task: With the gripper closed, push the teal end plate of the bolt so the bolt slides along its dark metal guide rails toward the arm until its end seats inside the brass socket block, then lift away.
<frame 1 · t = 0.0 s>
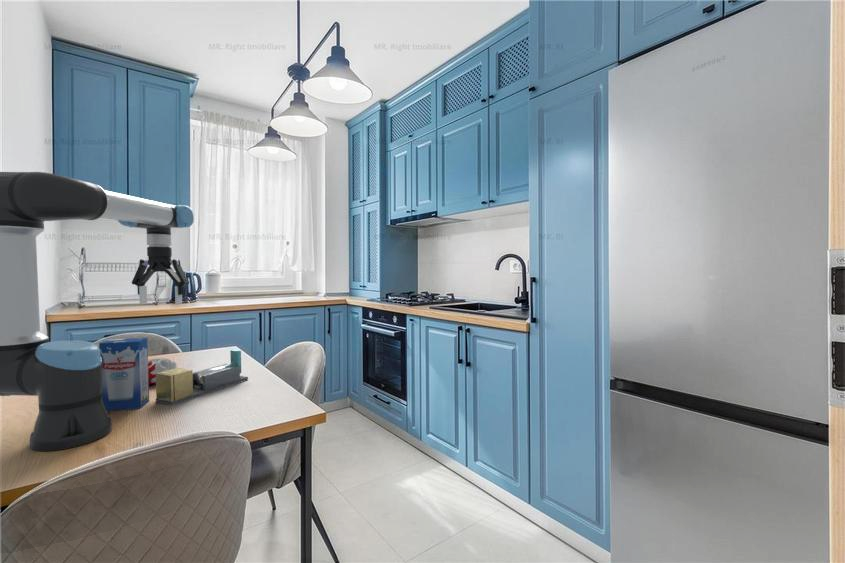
hand: (161, 303, 145), 28 cm above the table, fingers open, 13 cm apart
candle: (149, 384, 139), on the table
mat: (208, 388, 134), on the table
bolt: (219, 366, 138), point 7 cm above the table, slide at 0.0 cm
milk carton: (126, 406, 118), on the table
guide: (201, 376, 131), on the mat, point 5 cm above the table
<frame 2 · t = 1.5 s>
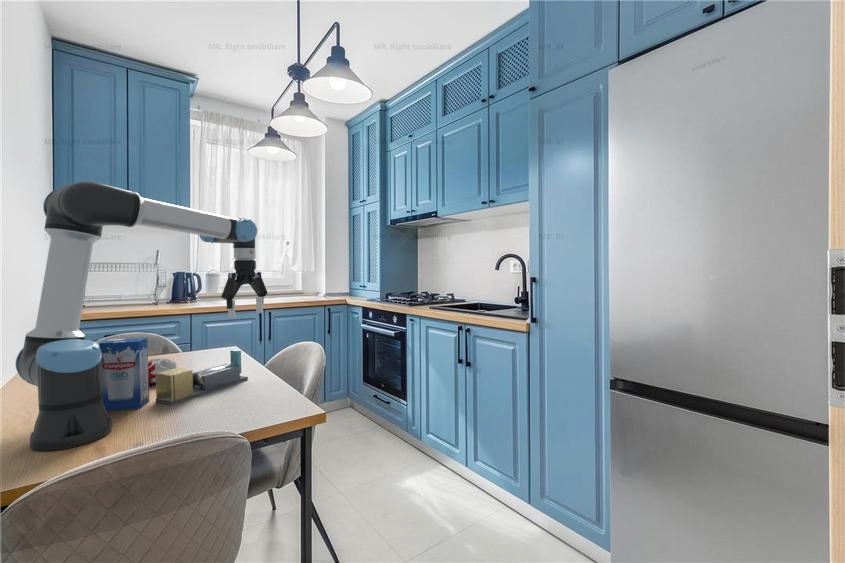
hand: (246, 315, 150), 23 cm above the table, fingers open, 13 cm apart
nothing on the table moved.
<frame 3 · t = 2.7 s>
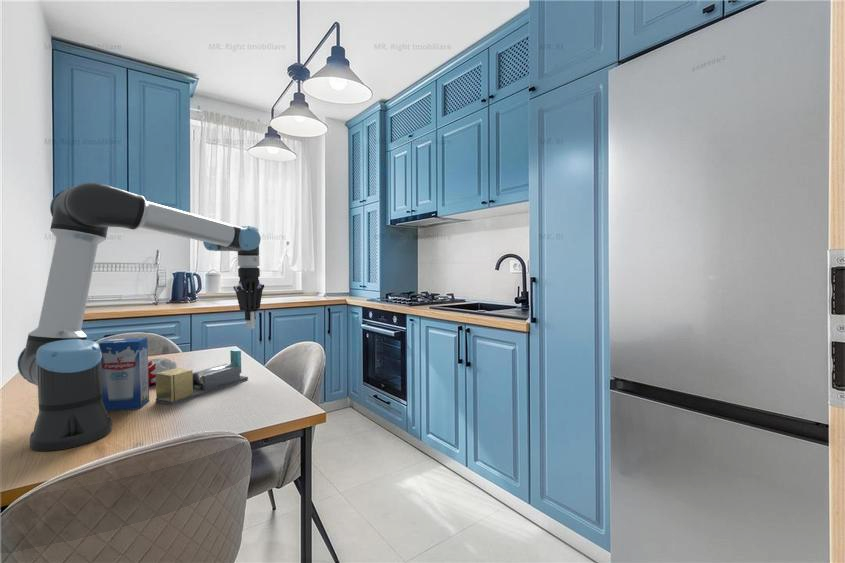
hand: (250, 328, 150), 18 cm above the table, fingers closed
nothing on the table moved.
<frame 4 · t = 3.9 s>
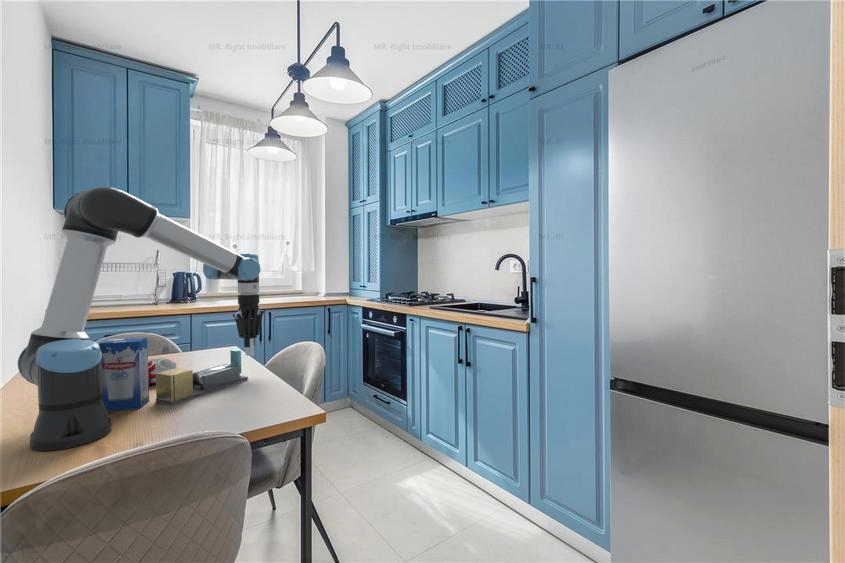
hand: (249, 355, 150), 8 cm above the table, fingers closed
nothing on the table moved.
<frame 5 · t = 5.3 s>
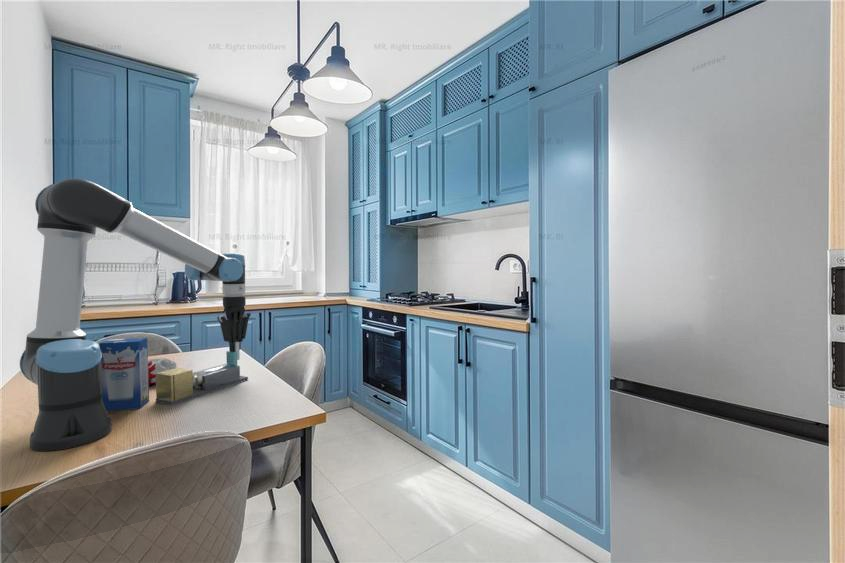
hand: (235, 359, 144), 8 cm above the table, fingers closed
bolt: (215, 367, 136), point 7 cm above the table, slide at 1.7 cm, touching gripper
everything else where it was.
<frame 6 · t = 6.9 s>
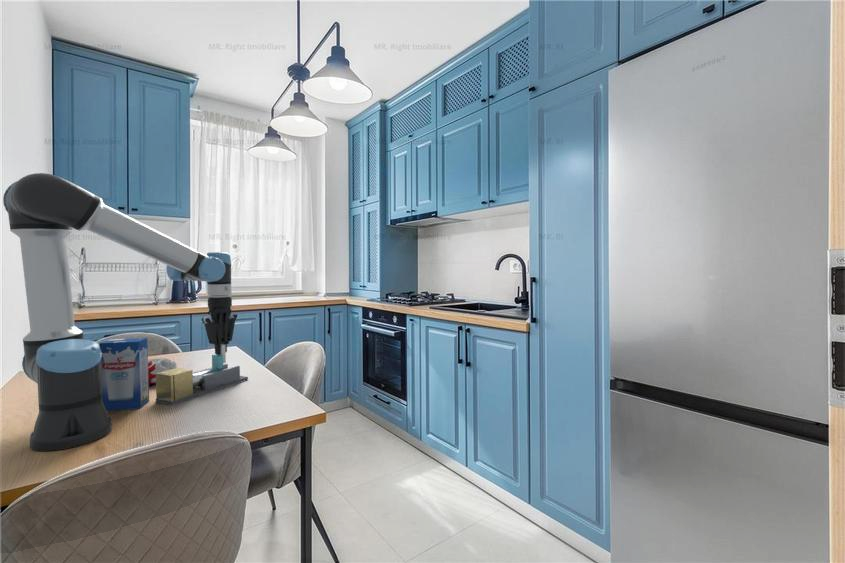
hand: (221, 362, 138), 8 cm above the table, fingers closed
bolt: (199, 371, 131), point 7 cm above the table, slide at 7.7 cm, touching gripper
everything else where it was.
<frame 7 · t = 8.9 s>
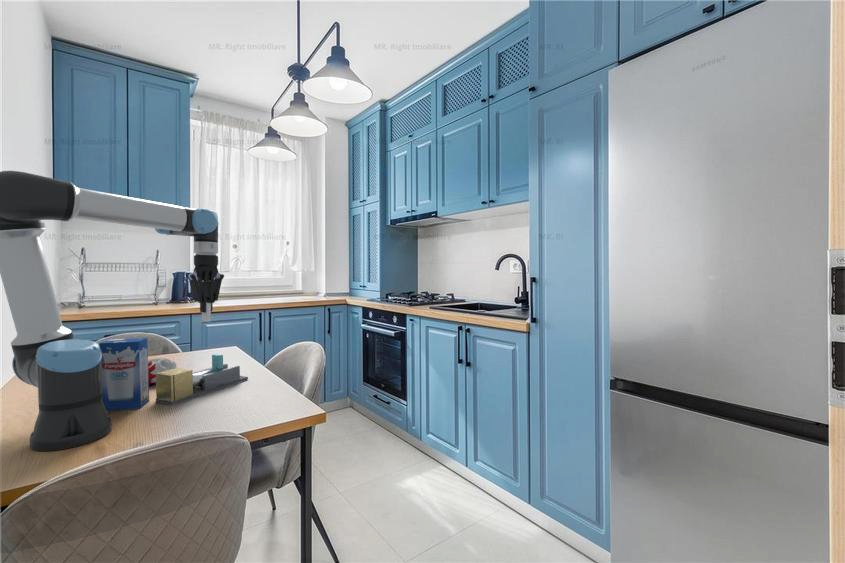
hand: (206, 321, 138), 23 cm above the table, fingers closed
bolt: (199, 371, 131), point 7 cm above the table, slide at 7.7 cm
everything else where it was.
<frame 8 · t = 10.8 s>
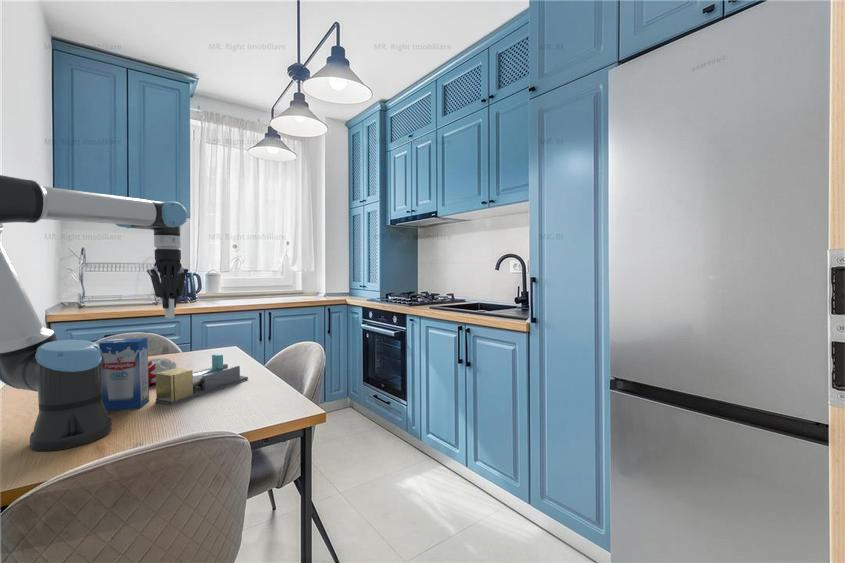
hand: (169, 317, 133), 24 cm above the table, fingers closed
nothing on the table moved.
at the end: bolt slide at 7.7 cm; bolt touching nothing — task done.
